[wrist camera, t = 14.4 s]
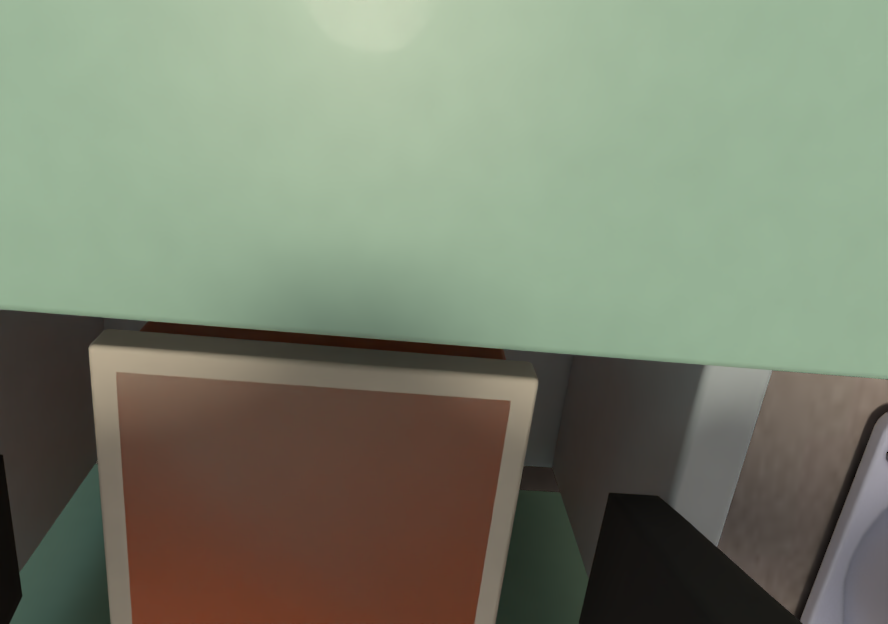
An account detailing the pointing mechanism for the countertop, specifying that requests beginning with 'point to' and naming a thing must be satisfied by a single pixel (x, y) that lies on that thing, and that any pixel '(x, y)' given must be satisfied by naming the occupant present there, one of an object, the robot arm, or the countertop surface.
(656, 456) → the drawer
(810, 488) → the countertop surface
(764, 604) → the robot arm
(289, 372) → the plastic tub
